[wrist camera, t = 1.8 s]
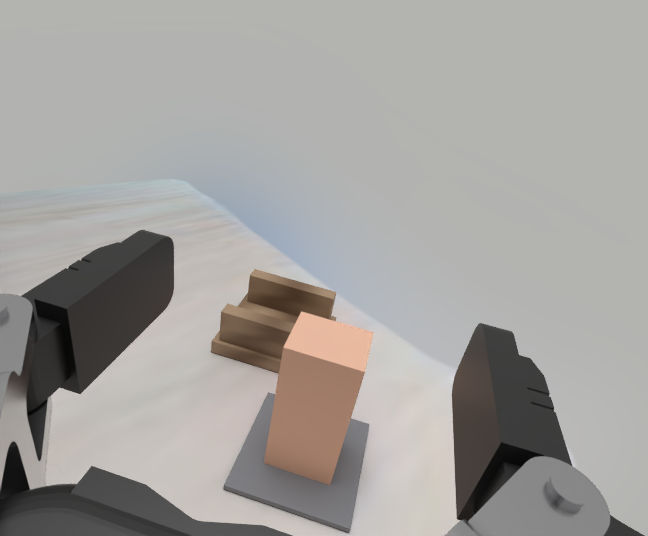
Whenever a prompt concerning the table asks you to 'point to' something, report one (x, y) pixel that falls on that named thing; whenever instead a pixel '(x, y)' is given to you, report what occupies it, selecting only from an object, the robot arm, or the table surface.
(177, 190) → the table surface
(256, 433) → the rubber mat
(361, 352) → the tall salmon pink block
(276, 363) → the slotted rack
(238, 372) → the table surface
